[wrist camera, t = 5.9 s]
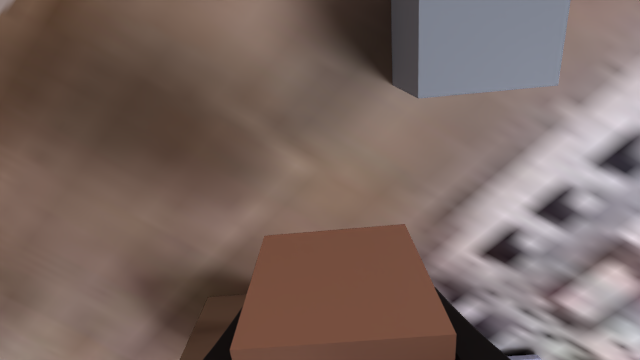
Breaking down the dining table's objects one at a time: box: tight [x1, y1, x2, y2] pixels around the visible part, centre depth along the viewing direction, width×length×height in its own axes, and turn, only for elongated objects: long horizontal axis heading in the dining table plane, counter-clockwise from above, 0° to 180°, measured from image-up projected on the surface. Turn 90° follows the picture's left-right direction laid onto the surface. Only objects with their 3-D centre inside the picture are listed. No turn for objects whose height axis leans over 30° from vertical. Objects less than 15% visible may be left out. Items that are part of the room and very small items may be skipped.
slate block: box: [391, 0, 570, 98], centre depth 14 cm, size 5×5×5 cm
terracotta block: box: [230, 224, 457, 360], centre depth 11 cm, size 5×5×5 cm
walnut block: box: [180, 294, 247, 360], centre depth 20 cm, size 5×5×5 cm
